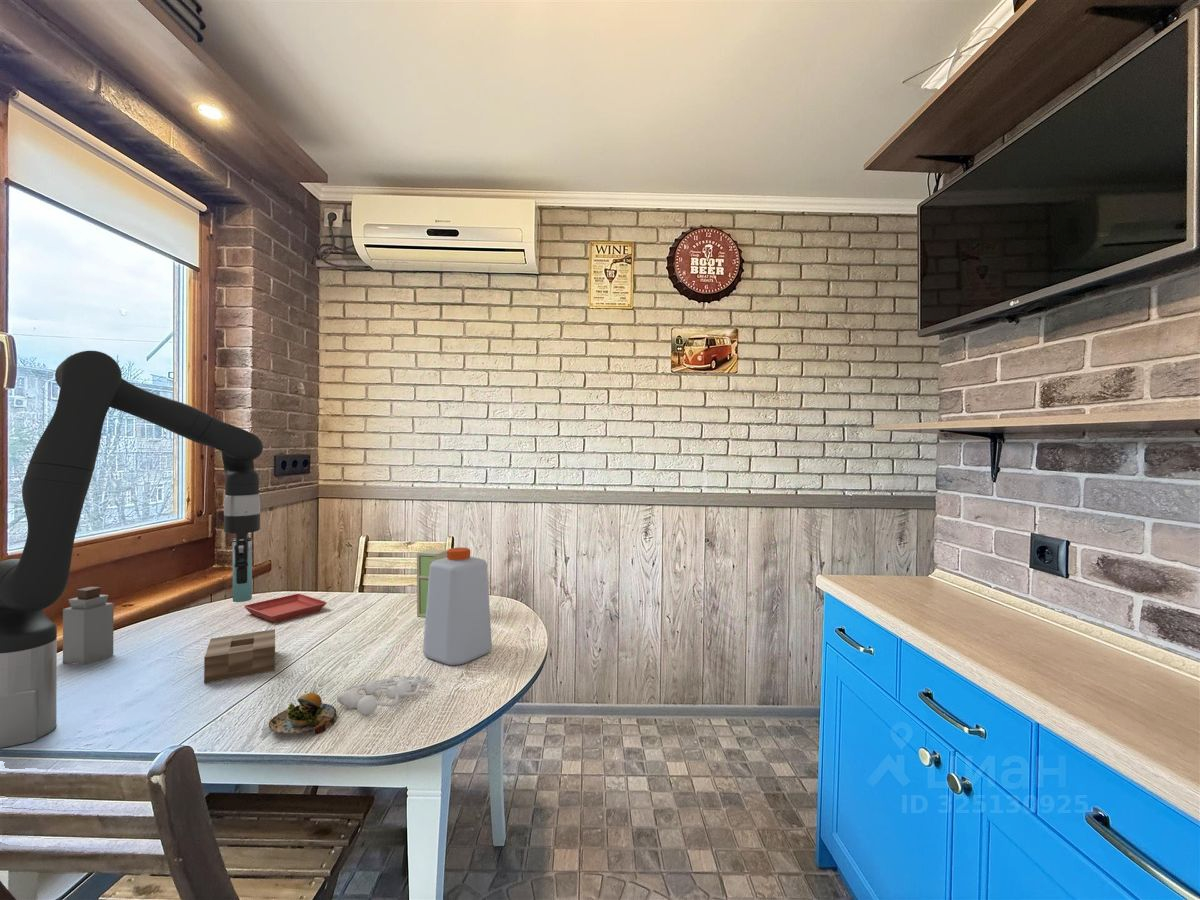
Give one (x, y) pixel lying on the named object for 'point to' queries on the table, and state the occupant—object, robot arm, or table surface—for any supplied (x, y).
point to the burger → (304, 716)
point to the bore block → (239, 656)
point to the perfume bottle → (88, 627)
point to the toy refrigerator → (425, 576)
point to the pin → (243, 590)
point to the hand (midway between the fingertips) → (242, 580)
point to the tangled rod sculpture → (368, 702)
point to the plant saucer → (285, 607)
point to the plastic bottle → (457, 609)
